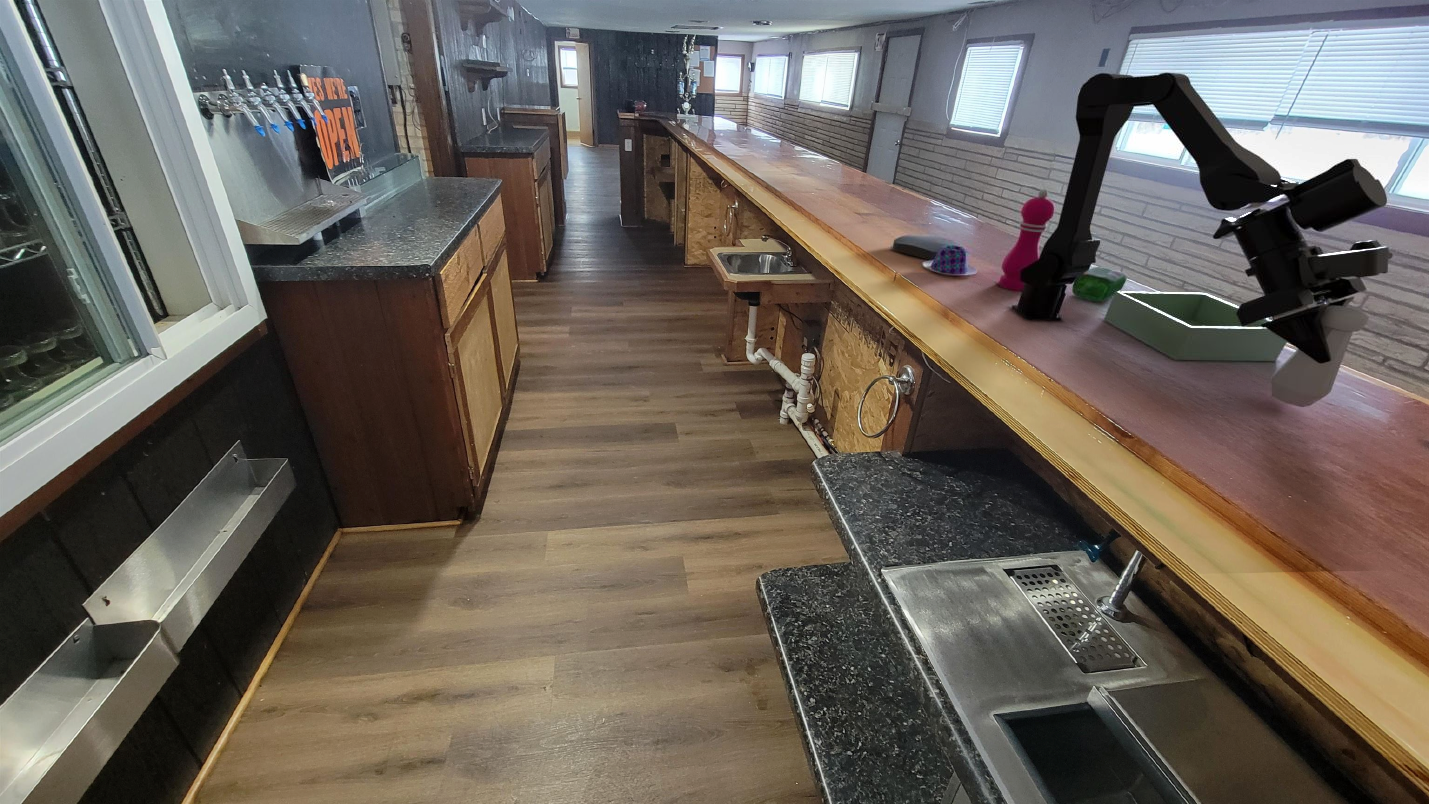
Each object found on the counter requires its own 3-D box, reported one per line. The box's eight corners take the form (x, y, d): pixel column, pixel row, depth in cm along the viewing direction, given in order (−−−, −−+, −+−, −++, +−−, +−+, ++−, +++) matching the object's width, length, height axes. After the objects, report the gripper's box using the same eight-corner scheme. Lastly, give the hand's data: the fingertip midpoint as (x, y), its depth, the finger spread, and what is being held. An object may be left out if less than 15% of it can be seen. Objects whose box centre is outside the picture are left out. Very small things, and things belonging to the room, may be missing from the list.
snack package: (1125, 293, 121) (1135, 269, 119) (1100, 307, 112) (1110, 282, 110) (1089, 285, 126) (1098, 261, 123) (1062, 298, 117) (1071, 273, 114)
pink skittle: (1034, 285, 123) (1066, 189, 113) (1030, 294, 118) (1063, 194, 108) (999, 279, 127) (1026, 185, 117) (993, 287, 121) (1022, 189, 111)
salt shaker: (1305, 394, 78) (1363, 305, 71) (1328, 414, 73) (1394, 320, 67) (1254, 385, 80) (1307, 298, 73) (1274, 404, 75) (1333, 313, 68)
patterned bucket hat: (951, 261, 138) (956, 240, 135) (987, 276, 128) (994, 253, 126) (911, 265, 134) (915, 242, 131) (945, 280, 124) (951, 256, 122)
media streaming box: (886, 250, 145) (888, 238, 144) (915, 242, 154) (917, 231, 152) (938, 263, 136) (941, 251, 135) (966, 254, 145) (969, 242, 143)
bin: (1175, 360, 91) (1191, 327, 88) (1103, 319, 106) (1115, 291, 103) (1275, 361, 92) (1294, 329, 89) (1190, 321, 107) (1204, 292, 105)
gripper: (1323, 221, 64) (1391, 348, 61) (1391, 212, 71) (1454, 325, 69) (1211, 269, 74) (1266, 380, 71) (1281, 257, 81) (1333, 357, 79)
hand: (1332, 360), depth 72 cm, fingers closed on salt shaker, 3 cm apart
